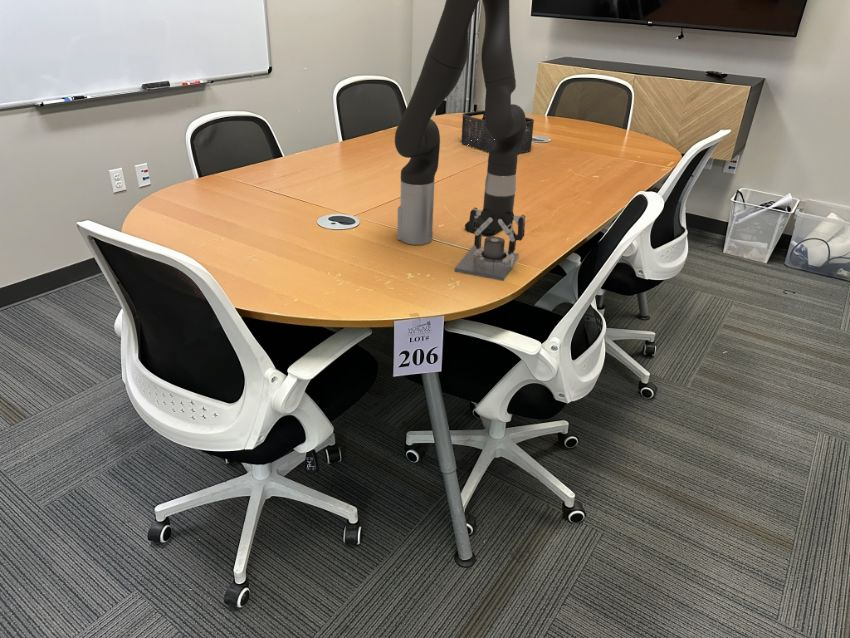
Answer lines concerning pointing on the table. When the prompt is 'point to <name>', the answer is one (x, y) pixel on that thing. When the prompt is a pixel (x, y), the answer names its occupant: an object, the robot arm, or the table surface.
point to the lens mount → (486, 264)
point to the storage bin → (485, 139)
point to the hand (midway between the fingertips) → (494, 250)
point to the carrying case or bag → (486, 231)
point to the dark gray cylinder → (494, 248)
